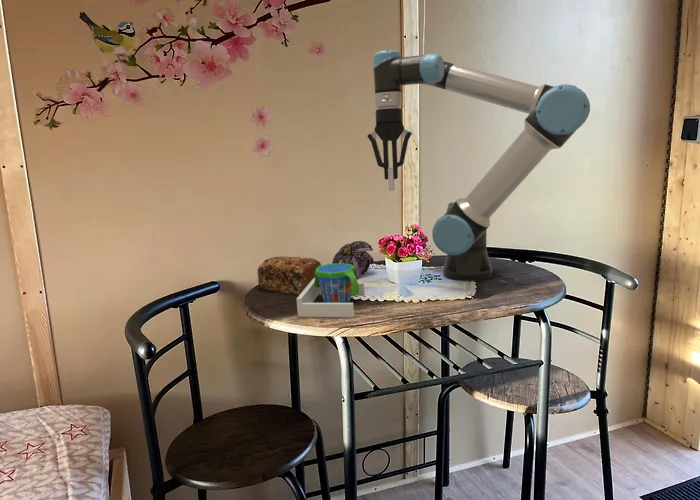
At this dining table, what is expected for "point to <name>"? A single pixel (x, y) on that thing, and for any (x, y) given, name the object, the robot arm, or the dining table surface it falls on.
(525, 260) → the dining table surface
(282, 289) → the bread
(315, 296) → the fence
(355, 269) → the decorative flower
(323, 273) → the snack cup
